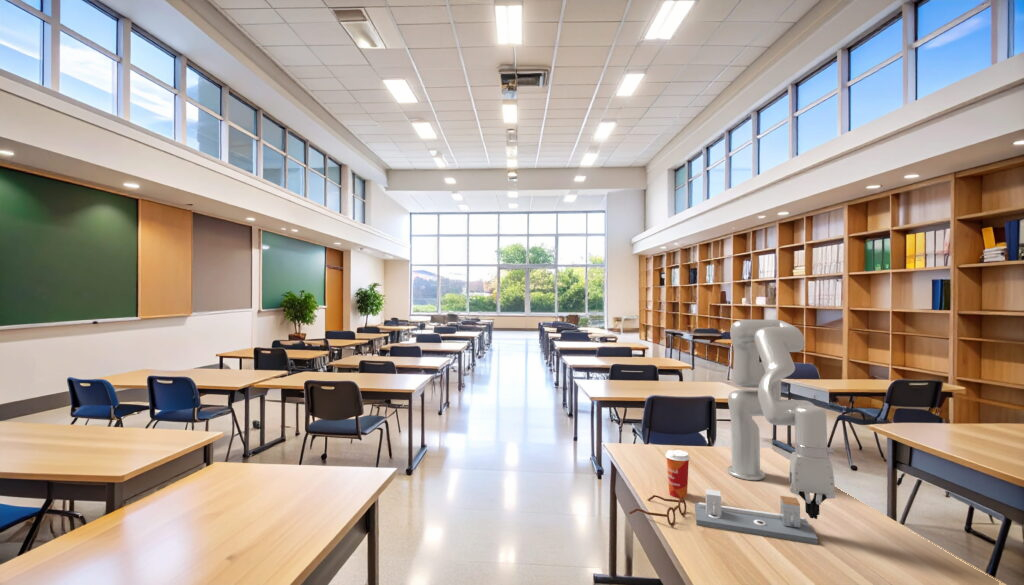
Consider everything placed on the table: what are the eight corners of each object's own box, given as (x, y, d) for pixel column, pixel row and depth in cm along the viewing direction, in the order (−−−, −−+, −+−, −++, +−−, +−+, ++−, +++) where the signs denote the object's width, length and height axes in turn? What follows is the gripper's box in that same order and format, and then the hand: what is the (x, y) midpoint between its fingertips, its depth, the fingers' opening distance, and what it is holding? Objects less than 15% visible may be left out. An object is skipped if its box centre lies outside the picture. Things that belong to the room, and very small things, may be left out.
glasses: (670, 529, 127) (669, 511, 127) (628, 514, 136) (628, 498, 136) (687, 513, 137) (687, 496, 137) (647, 500, 145) (647, 485, 146)
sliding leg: (780, 518, 128) (780, 495, 128) (796, 521, 127) (796, 497, 127) (784, 526, 124) (784, 502, 124) (801, 529, 122) (800, 504, 123)
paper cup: (662, 490, 152) (661, 449, 153) (683, 489, 153) (683, 448, 153) (672, 500, 145) (671, 457, 145) (694, 499, 145) (694, 456, 146)
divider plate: (695, 507, 140) (694, 483, 140) (805, 523, 129) (805, 497, 129) (696, 524, 128) (696, 498, 129) (817, 544, 118) (817, 515, 118)
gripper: (838, 449, 125) (839, 514, 125) (777, 443, 130) (779, 506, 130) (847, 458, 118) (849, 527, 118) (783, 451, 123) (784, 518, 123)
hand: (812, 516), depth 124 cm, fingers closed
